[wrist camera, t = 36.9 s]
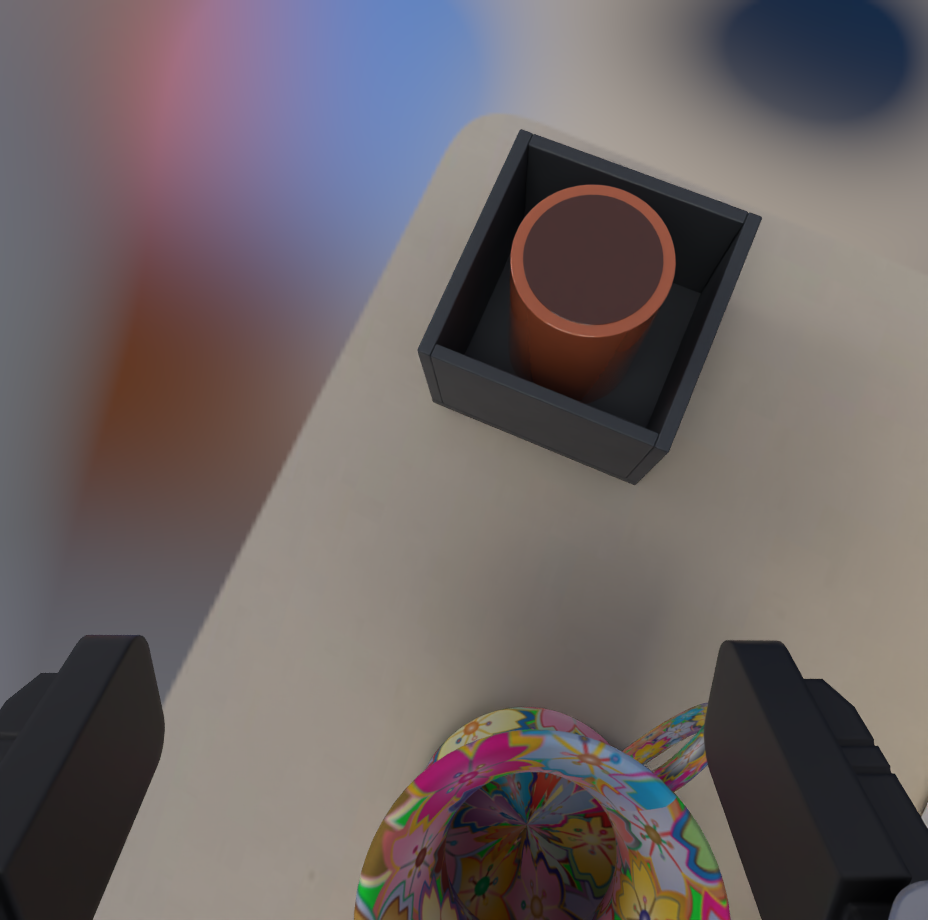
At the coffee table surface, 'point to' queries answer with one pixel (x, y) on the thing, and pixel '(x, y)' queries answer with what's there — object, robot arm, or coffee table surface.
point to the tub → (657, 362)
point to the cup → (586, 288)
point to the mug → (546, 828)
